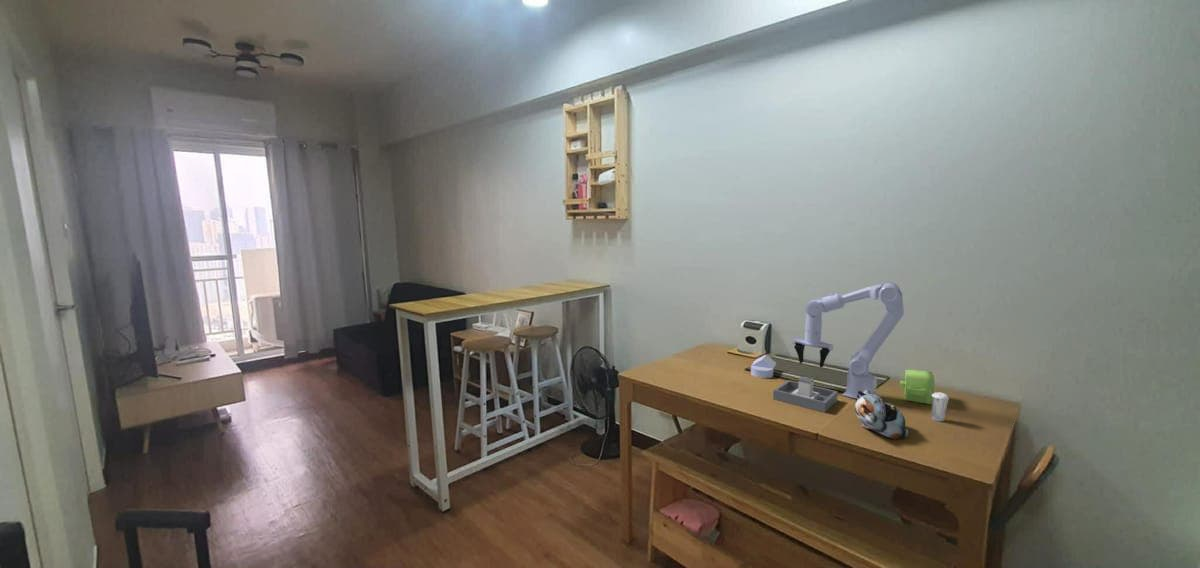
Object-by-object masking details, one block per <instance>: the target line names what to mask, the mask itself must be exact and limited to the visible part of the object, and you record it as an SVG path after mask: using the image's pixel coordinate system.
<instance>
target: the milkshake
mask: <svg viewBox="0 0 1200 568" xmlns="http://www.w3.org/2000/svg"><path fill="white" fill-rule="evenodd" d="M929 390H930V389H929ZM930 392H931V391H930ZM931 395H932V404H931V419H932V420H933V421H936V422H941V423H942V422H944V421H945V418H946V413H947V408H948V403H949V396H948V395H947V394H946V393H944V392H941V391H940V392H934V393H933V394H931Z"/></svg>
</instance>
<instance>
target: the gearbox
mask: <svg viewBox="0 0 1200 568" xmlns="http://www.w3.org/2000/svg"><path fill="white" fill-rule="evenodd" d="M904 373H905V375H904V380H900V382H899V385H900V386H899V387H900V388H904V398H905V401H908V402H909V401H910V402H915V403H921V404H927V405H929V404H930V405H932V395H931V394H933V393H935V377H934V374H933V371H928V370H917V369H905V371H904ZM929 389H930V390H929ZM930 391H931V392H930Z"/></svg>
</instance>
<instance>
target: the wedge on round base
mask: <svg viewBox="0 0 1200 568" xmlns="http://www.w3.org/2000/svg"><path fill="white" fill-rule="evenodd" d="M776 365H777V362H776V361H775V360H774V359H772V358H771V357H770V356H769V355H768V354H763V355H762V356H761V357H758V358H757V359H755V360H754V361H753V362H752V364H751V365H750V368H751V369H750V375H751V376H753V377H755V378H761V379H770V378H772V377H774V368H775V367H776Z"/></svg>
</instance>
